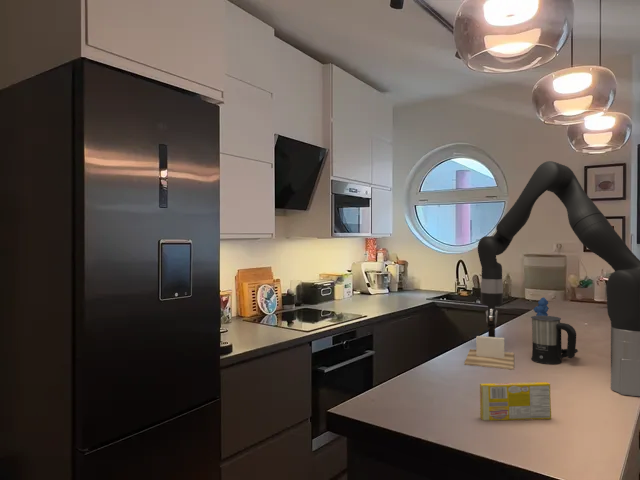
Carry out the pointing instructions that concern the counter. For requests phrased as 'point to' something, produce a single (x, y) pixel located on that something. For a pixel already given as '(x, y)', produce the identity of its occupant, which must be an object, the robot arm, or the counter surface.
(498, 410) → the candy box
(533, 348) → the milk frother
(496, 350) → the card box
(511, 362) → the mat
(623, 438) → the counter surface
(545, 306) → the grapes
